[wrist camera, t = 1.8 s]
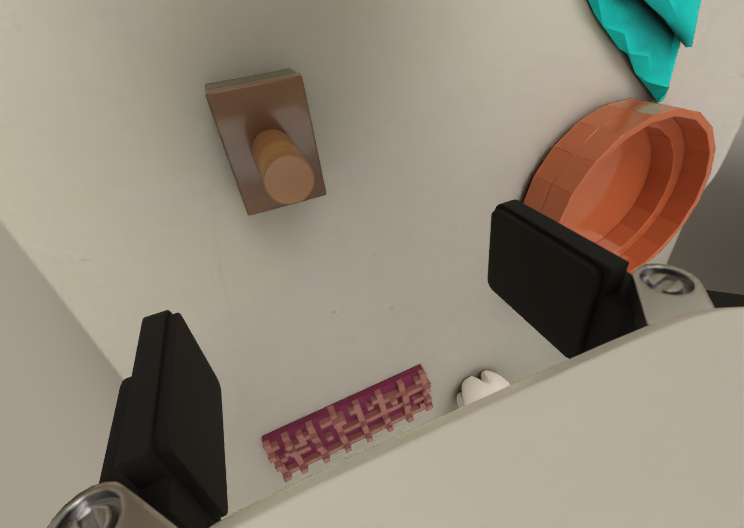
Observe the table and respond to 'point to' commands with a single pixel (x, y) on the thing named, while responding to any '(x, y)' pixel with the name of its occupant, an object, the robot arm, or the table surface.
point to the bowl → (627, 176)
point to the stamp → (268, 138)
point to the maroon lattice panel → (348, 422)
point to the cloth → (649, 35)
